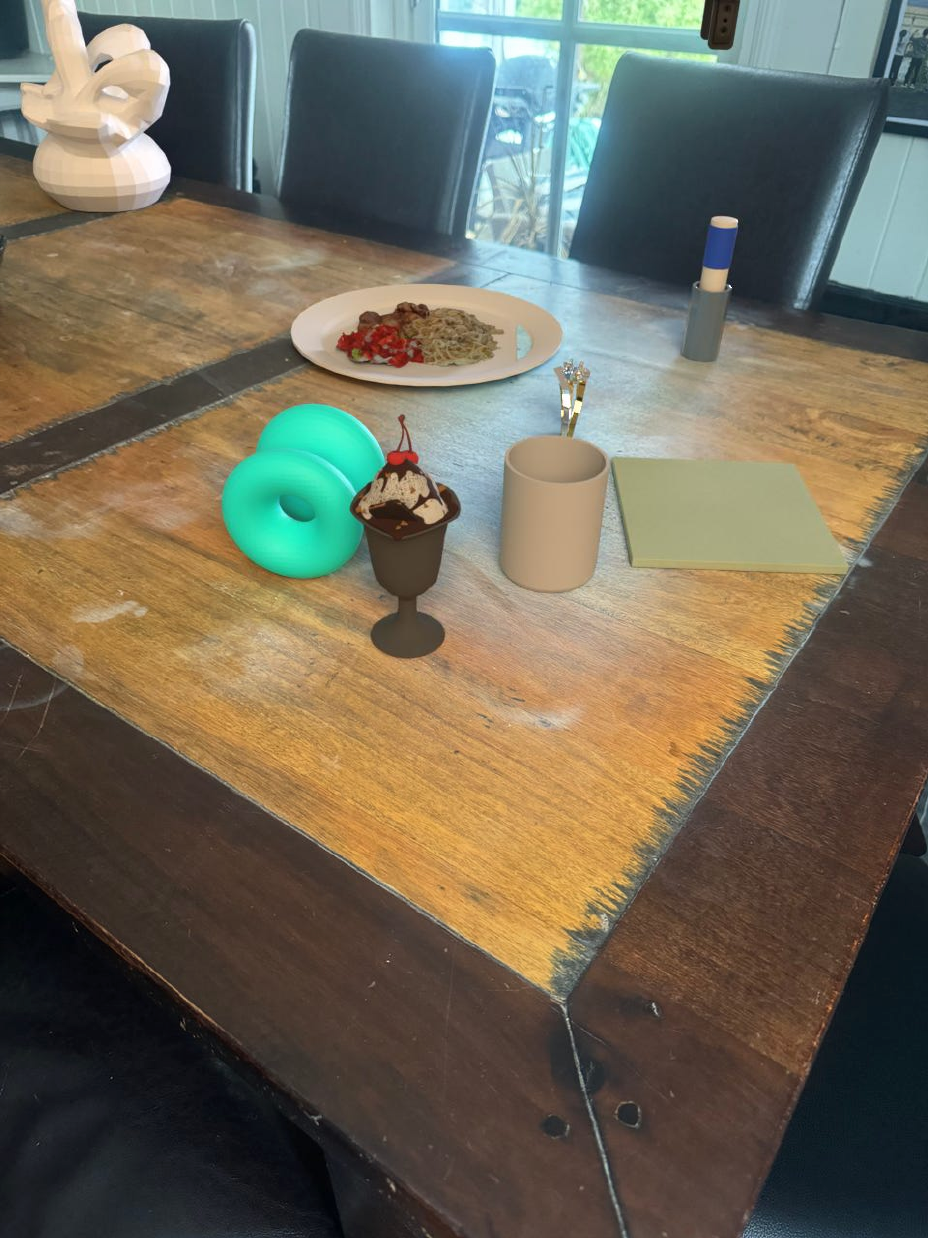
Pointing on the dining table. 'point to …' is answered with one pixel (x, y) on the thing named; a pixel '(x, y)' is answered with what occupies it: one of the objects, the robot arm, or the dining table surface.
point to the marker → (718, 253)
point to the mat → (722, 517)
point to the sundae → (406, 546)
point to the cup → (552, 512)
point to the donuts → (302, 491)
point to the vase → (98, 116)
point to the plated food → (425, 334)
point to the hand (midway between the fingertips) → (714, 44)
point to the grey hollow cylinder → (705, 323)
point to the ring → (570, 393)
